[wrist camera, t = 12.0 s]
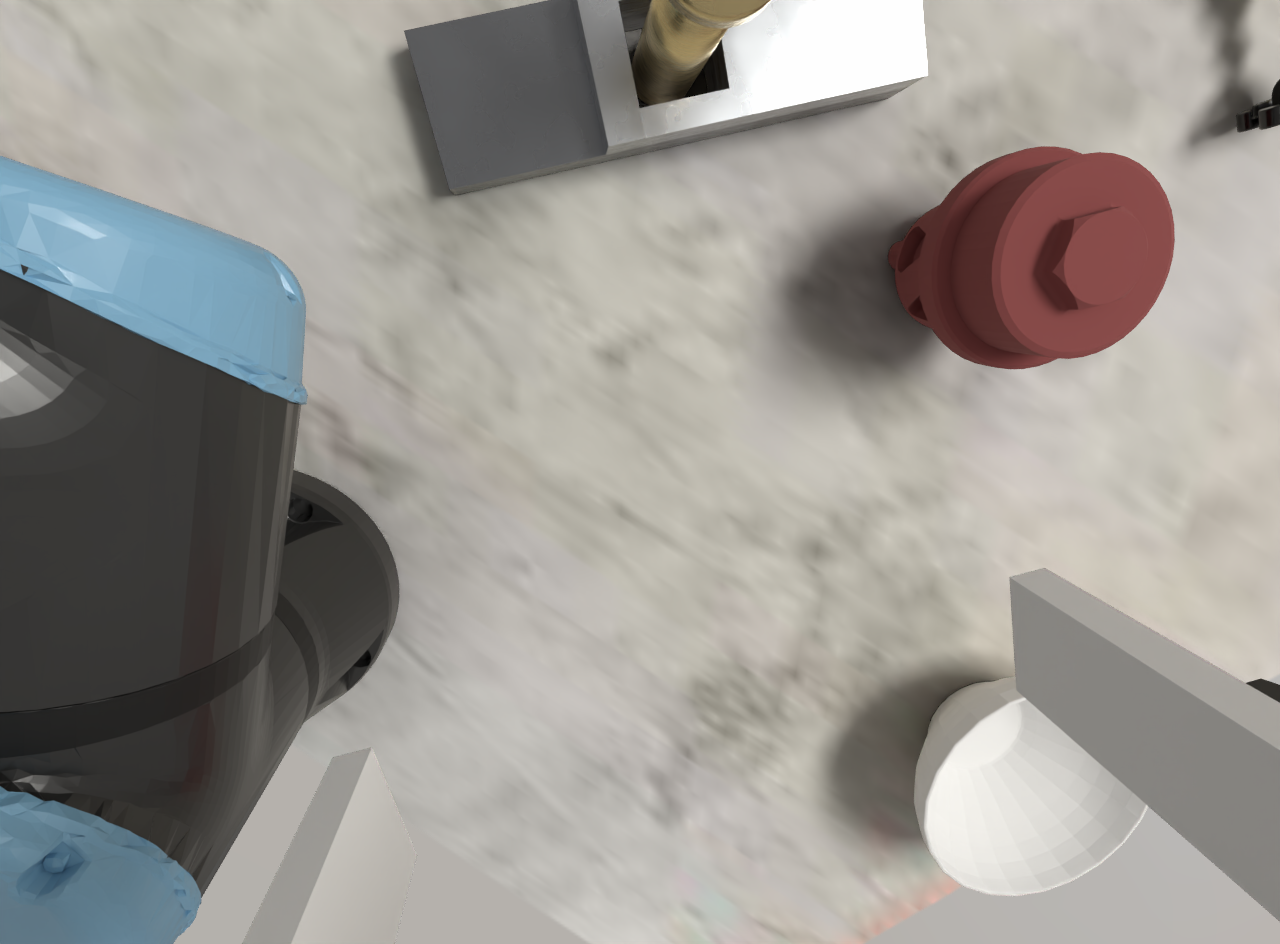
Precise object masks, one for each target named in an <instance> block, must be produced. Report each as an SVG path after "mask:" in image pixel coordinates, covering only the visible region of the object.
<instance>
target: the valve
mask: <svg viewBox="0 0 1280 944" xmlns="http://www.w3.org/2000/svg"><path fill="white" fill-rule="evenodd" d="M1236 122H1237V132H1244V131H1248V130H1251V129H1254V128H1257V127H1259V129H1260V130H1263V129H1267V128H1271V127H1274V126H1278V125H1280V79H1279V81H1278V82H1277V83H1276V85H1275V86H1274V88H1273V92H1272V99H1270V100H1267V101H1264V102H1261V103H1259V104H1256V105H1254V106H1253V117H1252V115H1251V111H1250V110H1247V111H1244V112H1241V113H1239V114H1237V115H1236Z"/></svg>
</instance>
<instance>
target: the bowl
mask: <svg viewBox="0 0 1280 944" xmlns="http://www.w3.org/2000/svg"><path fill="white" fill-rule="evenodd" d="M914 805H915V810H916V815H917V819H918V822H919V826H920V830H921V834H922V838H923V840H924V842H925V844H926V846H927V848H928V850H929V852H930V854H931V855H932V857H933V858H934V860H935V861H936V862H937V864H938V865H939V867H940V868H941V870H942V871H943V872H944V873H945V874H947V875H948V876H949V877H951V878H952V879H953V880H955V881H956V882H957V883H959V884H960V885H962V886H963V887H966V888H969V889H972V890H975V891H978V892H981V893H984V894H988V895H1003V896H1019V895H1026V894H1032V893H1039V892H1044V891H1047V890H1049V889H1052V888H1055V887H1058V886H1060V885H1063V884H1065V883H1068V882H1071V881H1073V880H1075V879H1076V878H1078V877H1080V876H1081V875H1083V874H1085V873H1086V872H1088V871H1090V870H1091V869H1093V868H1095V867H1096V866H1098V865H1100V864H1101V863H1102V862H1103V861H1104V860H1105V859H1106V858H1107V857H1109V856H1110V855H1111V854H1112V853H1113V852H1114V851H1116V850H1117V849H1118V848H1119V847H1120V846H1121V845H1122V844H1123V843H1124V842H1125V841H1126V839H1127V838H1128V837H1129V835H1130V834H1131V833H1132V831H1133V830H1134V829H1135V828H1136V826H1137V825H1138V824H1139V822H1140V821H1141V819H1142V818H1143V816H1144V813H1145V811H1146V809H1147V807H1148V805H1146V804H1145V803H1144V802H1143V801H1142V800H1141V799H1140V798H1138V797H1137V796H1136V795H1135V794H1134V793H1133V792H1132V791H1130V790H1129V789H1128V788H1127V787H1126V786H1125V785H1124V784H1122V783H1121V782H1120V781H1119V780H1118V779H1117V778H1116V777H1114V776H1113V775H1112V774H1111V773H1110V772H1109V771H1108V770H1107V769H1105V768H1104V767H1103V766H1102V765H1101V764H1100V763H1099V762H1097V761H1096V760H1095V759H1094V758H1093V757H1092V756H1091V755H1089V754H1088V753H1087V752H1086V751H1085V750H1084V749H1083V748H1081V747H1080V746H1079V745H1078V744H1077V743H1076V742H1075V741H1073V740H1072V739H1071V738H1070V737H1069V736H1068V735H1067V734H1066V733H1064V732H1063V731H1062V730H1061V729H1060V728H1059V727H1058V726H1056V725H1055V724H1054V723H1053V722H1052V721H1051V720H1050V719H1048V718H1047V717H1046V716H1045V715H1044V714H1043V713H1042V712H1040V711H1039V710H1038V709H1037V708H1036V707H1035V706H1034V705H1032V704H1031V703H1030V702H1029V701H1028V700H1027V699H1026V698H1025V697H1023V696H1022V695H1021V694H1020V693H1019V692H1018V691H1017V690H1016V677H1009V678H1003V679H999V680H997V681H993V682H981V683H974V684H972V685H969V686H966V687H964V688H961V689H960V690H958V691H957V692H955V693H953V694H952V695H950V696H949V697H948V698H947V699H946V700H945V701H944V702H943V703H942V704H941V705H940V706H939V707H938V709H937V710H936V712H935V713H934V715H933V716H932V719H931V722H930V725H929V727H928V735H927V737H926V740H925V742H924V745H923V748H922V751H921V753H920V756H919V759H918V762H917V766H916V775H915V788H914Z"/></svg>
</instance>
